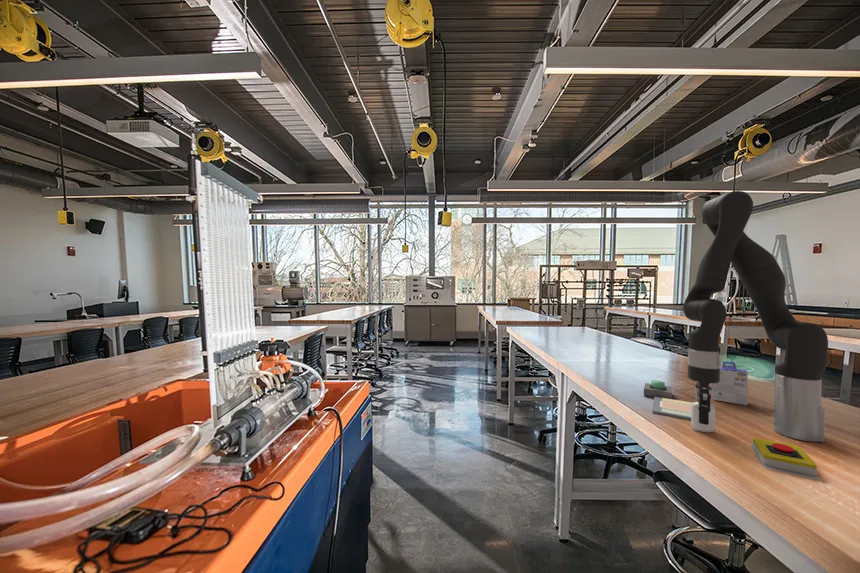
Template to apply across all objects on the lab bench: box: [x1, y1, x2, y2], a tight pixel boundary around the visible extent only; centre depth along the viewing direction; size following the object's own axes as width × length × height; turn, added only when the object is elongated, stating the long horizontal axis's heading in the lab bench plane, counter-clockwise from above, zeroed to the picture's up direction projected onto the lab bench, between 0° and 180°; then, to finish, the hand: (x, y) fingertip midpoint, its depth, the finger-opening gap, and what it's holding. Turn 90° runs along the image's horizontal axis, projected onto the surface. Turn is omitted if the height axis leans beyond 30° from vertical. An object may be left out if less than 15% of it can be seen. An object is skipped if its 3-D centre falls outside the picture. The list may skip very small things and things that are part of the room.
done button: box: [650, 379, 666, 390], centre depth 132 cm, size 4×4×3 cm
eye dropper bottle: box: [690, 401, 716, 433], centre depth 100 cm, size 4×6×12 cm
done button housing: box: [643, 382, 673, 399], centre depth 132 cm, size 9×9×3 cm
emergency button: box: [749, 437, 821, 481], centre depth 83 cm, size 9×4×15 cm
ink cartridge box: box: [711, 361, 749, 406], centre depth 125 cm, size 10×6×14 cm, turn 53°
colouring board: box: [651, 396, 694, 421], centre depth 117 cm, size 14×18×1 cm
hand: (703, 421), depth 100 cm, fingers closed on eye dropper bottle, 3 cm apart
